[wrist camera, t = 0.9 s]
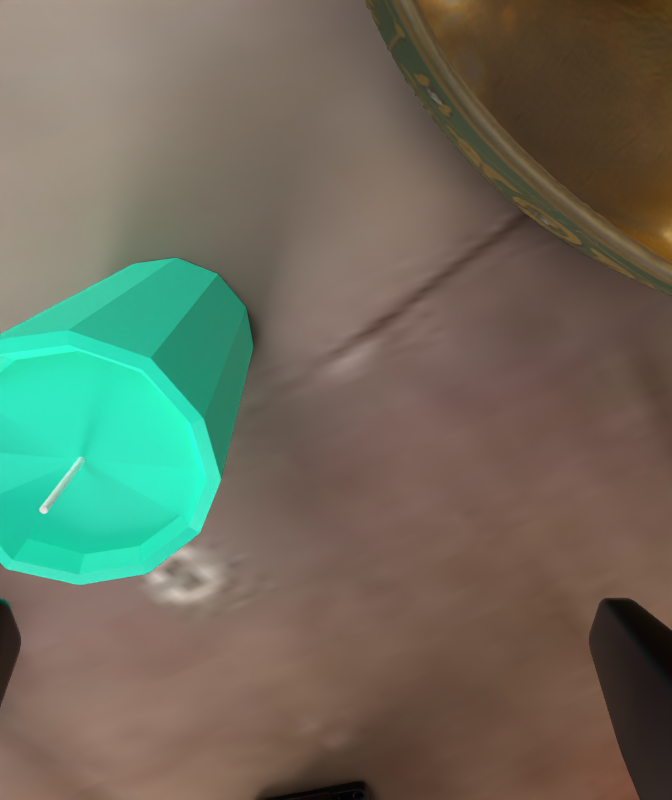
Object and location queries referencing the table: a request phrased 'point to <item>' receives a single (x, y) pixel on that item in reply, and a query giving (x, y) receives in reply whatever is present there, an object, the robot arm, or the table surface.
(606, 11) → the cup
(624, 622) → the robot arm
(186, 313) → the candle
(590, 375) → the table surface
